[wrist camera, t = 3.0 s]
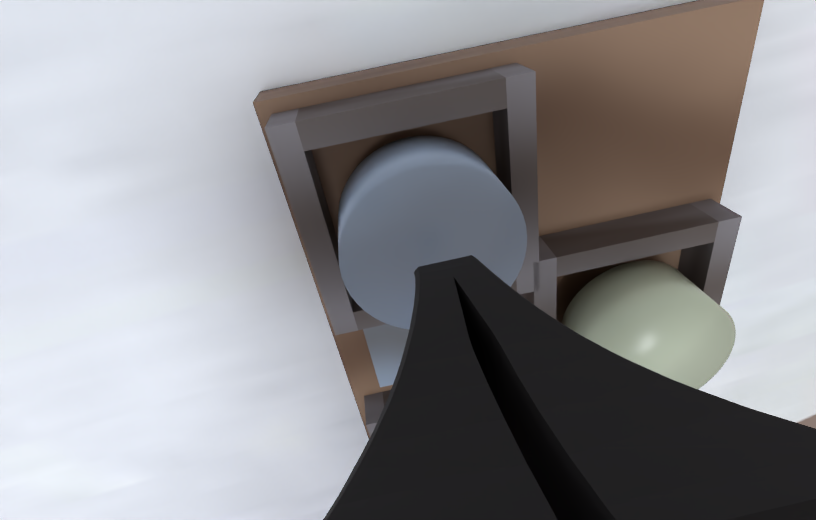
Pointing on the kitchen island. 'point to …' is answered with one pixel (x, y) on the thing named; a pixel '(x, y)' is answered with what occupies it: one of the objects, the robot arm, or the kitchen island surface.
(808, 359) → the kitchen island surface
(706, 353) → the button sage
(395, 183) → the button slate
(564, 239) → the panel
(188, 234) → the kitchen island surface
